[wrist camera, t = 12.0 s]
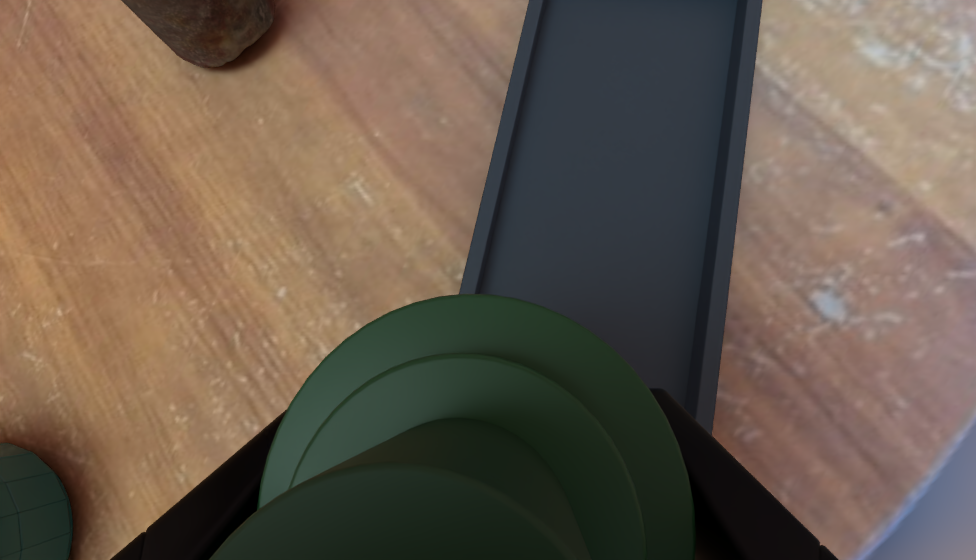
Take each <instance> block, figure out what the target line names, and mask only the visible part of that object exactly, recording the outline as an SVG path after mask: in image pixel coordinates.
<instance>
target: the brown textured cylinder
mask: <svg viewBox="0 0 976 560" xmlns="http://www.w3.org/2000/svg"><path fill="white" fill-rule="evenodd" d="M121 1H122V2H123V3H125V4H126V5H127V6H128V7H129V8H130V9H131V10H132V11H133V12H134V13H135V14H136V15H137V16H138V17H139V18H140V19H141V20H142V21H143V22H144V23H145V24H146V25H147V26H148V27H149V28H150V29H151V30H152V31H153V32H154V33H155V34H156V35H157V36H158V37H159V38H160V39H161V40H162V41H163V42H164V43H165V44H166V45H168V46H169V47H170V48H171V49H172V50H173V51H174V52H175V53H176V54H177V55H178V56H179V57H180V58H182V59H183V60H185V61H188V62H190V63H192V64H194V65H197V66H200V67H203V68H209V67H218V66H222V65H224V64H225V63H226V62H229V61H233V60H234V59H235V58H237V57H238V56H239V55H240V54H241V52H242V51H243V50H244V49H245V48H246V47H248V46H249V45H252V44H253V43H254V42H255V41H256V40H258V39H259V38H260V37H261V36H262V35H263V34H264V33H266V31H267V30H268V29H269V27H270V26H271V24H272V23H273V20H274V12H275V2H274V0H121Z"/></svg>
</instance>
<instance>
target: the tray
mask: <svg viewBox="0 0 976 560" xmlns="http://www.w3.org/2000/svg"><path fill="white" fill-rule="evenodd" d="M761 8H762V0H529V4H528V8H527V12H526V16H525V20H524V25H523V29H522V33H521V37H520V41H519V45H518V50H517V54H516V58H515V62H514V66H513V71H512V75H511V79H510V83H509V87H508V91H507V96H506V100H505V104H504V108H503V112H502V116H501V121H500V125H499V129H498V133H497V137H496V142H495V146H494V150H493V154H492V158H491V162H490V167H489V171H488V175H487V179H486V183H485V187H484V192H483V196H482V200H481V204H480V208H479V213H478V217H477V221H476V225H475V229H474V233H473V238H472V242H471V246H470V250H469V254H468V259H467V263H466V267H465V271H464V275H463V279H462V284H461V288H460V292H459V294H491V295H498V296H505V297H511V298H517V299H520V300H524V301H527V302H531V303H534V304H538V305H541V306H544V307H546V308H548V309H551V310H553V311H555V312H558V313H560V314H562V315H565V316H567V317H568V318H570V319H572V320H573V321H575V322H577V323H579V324H580V325H582V326H584V327H585V328H587V329H589V330H590V331H591V332H593V333H594V334H595V335H597V336H598V337H599V338H601V339H602V340H603V341H604V342H606V343H607V344H608V345H610V346H611V347H612V348H613V349H614V350H615V351H616V352H617V353H618V354H619V355H620V356H621V357H622V358H623V359H624V360H625V361H626V362H627V363H628V364H629V365H630V366H631V367H632V368H633V369H634V370H635V372H636V373H637V374H638V376H639V377H640V378H641V379H642V381H643V382H644V383H645V384H646V386H647V387H648V388H662V389H664V390H665V391H667V392H668V393H669V394H670V395H671V396H672V397H673V398H674V399H675V400H676V401H677V402H678V403H679V404H680V405H681V406H682V407H683V408H684V409H685V410H686V411H687V412H688V413H689V414H690V415H691V416H692V417H693V418H694V419H695V420H696V421H697V422H698V423H699V424H700V425H701V426H702V427H703V428H704V429H705V430H706V431H707V432H708V433H709V434H710V435H711V436H712V429H713V420H714V412H715V403H716V394H717V386H718V377H719V369H720V360H721V351H722V343H723V334H724V326H725V317H726V309H727V300H728V291H729V283H730V274H731V266H732V257H733V249H734V240H735V231H736V223H737V214H738V206H739V197H740V189H741V180H742V171H743V163H744V154H745V146H746V137H747V129H748V120H749V111H750V103H751V94H752V86H753V77H754V68H755V60H756V51H757V43H758V34H759V26H760V17H761Z"/></svg>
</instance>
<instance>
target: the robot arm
mask: <svg viewBox="0 0 976 560" xmlns="http://www.w3.org/2000/svg"><path fill="white" fill-rule="evenodd" d="M649 390H650V391H651V393H652V394H653V396H654V397H655V399H656V401H657V402H658V404H659V406H660V407H661V409H662V411H663V412H664V414H665V416H666V418H667V420H668V422H669V424H670V426H671V429H672V431H673V433H674V435H675V437H676V440H677V442H678V444H679V447H680V450H681V453H682V457H683V460H684V463H685V466H686V469H687V472H688V476H689V482H690V487H691V492H692V498H693V503H694V512H695V528H696V551H695V560H838V559H837V558H836V557H835V556H834V555H833V554H832V553H831V552H830V551H829V550H828V549H827V548H826V547H825V546H823V545H820V542H819V540H818V539H817V538H816V537H815V536H814V535H813V534H812V533H811V532H810V531H809V530H808V529H807V528H805V527H804V526H803V525H802V524H801V523H800V522H799V521H798V520H797V519H796V518H795V517H794V516H793V515H792V514H791V513H790V512H789V511H788V510H787V509H786V508H785V507H784V506H783V505H782V504H781V503H780V502H779V501H778V500H777V499H776V498H775V497H774V496H773V495H772V494H771V493H770V492H769V491H768V490H767V489H766V488H765V487H764V486H763V485H762V484H761V483H760V482H758V481H757V480H756V479H755V478H754V477H753V476H752V475H751V474H750V473H749V472H748V471H747V470H746V469H745V468H744V467H743V466H742V465H741V464H740V463H739V462H738V461H737V460H736V459H735V458H734V457H733V456H732V455H731V454H730V453H729V452H728V451H727V450H726V449H725V448H724V447H723V446H722V445H721V444H720V443H719V442H718V441H717V440H716V439H715V438H714V437H713V436H711V435H710V434H709V433H708V432H707V431H706V430H705V429H704V428H703V427H702V426H701V425H700V424H699V423H698V422H697V421H696V420H695V419H694V418H693V417H692V416H691V415H690V414H689V413H688V412H687V411H686V410H685V409H684V408H683V407H682V406H681V405H680V404H679V403H678V402H677V401H676V400H675V399H674V398H673V397H672V396H671V395H670V394H669V393H668V392H667V391H665V390H664V389H662V388H649ZM286 411H287V410H285V411H284V412H283V413H282V414H281V415H280V416H278V417H277V418H276V419H275V420H274V421H272V422H271V423H270V424H269V425H268V426H267V427H265V428H264V429H263V430H262V431H261V432H260V433H258V434H257V435H256V436H255V437H254V438H253V439H251V440H250V441H249V442H248V443H247V444H246V445H244V446H243V447H242V448H241V449H240V450H238V451H237V452H236V453H235V454H234V455H233V456H231V457H230V458H229V459H228V460H227V461H226V462H224V463H223V464H222V465H221V466H220V467H219V468H217V469H216V470H215V471H214V472H213V473H211V474H210V475H209V476H208V477H207V478H206V479H204V480H203V481H202V482H201V483H200V484H199V485H197V486H196V487H195V488H194V489H193V490H192V491H190V492H189V493H188V494H187V495H186V496H185V497H183V498H182V499H181V500H180V501H179V502H177V503H176V504H175V505H174V506H173V507H172V508H170V509H169V510H168V511H167V512H166V513H165V514H163V515H162V516H161V517H160V518H159V519H158V520H156V521H155V522H154V523H153V524H152V525H150V526H149V527H148V528H147V530H146V532H142V533H141V534H140V535H139V536H137V537H136V538H135V539H134V540H133V541H132V542H130V543H129V544H128V545H127V546H126V547H124V548H123V549H122V550H121V551H120V552H119V553H117V554H116V555H115V556H114V557H112V558H111V559H110V560H209V559H210V558H211V557H212V556H213V554H214V553H215V552H216V551H217V550H218V549H219V547H220V546H221V545H222V544H223V543H224V541H225V540H226V539H227V538H228V537H229V536H230V535H231V534H232V533H233V532H234V531H235V530H236V529H237V528H238V527H239V526H240V525H241V524H242V523H244V522H245V521H246V520H247V519H248V518H249V517H250V516H251V515H252V514H253V513H255V512H256V511H257V505H258V498H259V491H260V483H261V479H262V475H263V472H264V468H265V464H266V460H267V456H268V453H269V450H270V448H271V445H272V442H273V440H274V437H275V434H276V432H277V429H278V427H279V425H280V423H281V421H282V419H283V417H284V415H285V413H286Z"/></svg>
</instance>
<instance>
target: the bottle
mask: <svg viewBox="0 0 976 560" xmlns="http://www.w3.org/2000/svg"><path fill="white" fill-rule="evenodd" d="M695 551H696V528H695V512H694V503H693V498H692V492H691V487H690V482H689V476H688V472H687V469H686V466H685V463H684V460H683V457H682V453H681V450H680V447H679V444H678V442H677V440H676V437H675V435H674V433H673V431H672V429H671V426H670V424H669V422H668V420H667V418H666V416H665V414H664V412H663V411H662V409H661V407H660V406H659V404H658V402H657V401H656V399H655V397H654V396H653V394H652V393H651V391H650V390H649V388H648V387H647V386H646V384H645V383H644V382H643V381H642V379H641V378H640V377H639V376H638V374H637V373H636V372H635V370H634V369H633V368H632V367H631V366H630V365H629V364H628V363H627V362H626V361H625V360H624V359H623V358H622V357H621V356H620V355H619V354H618V353H617V352H616V351H615V350H614V349H613V348H612V347H611V346H610V345H608V344H607V343H606V342H604V341H603V340H602V339H601V338H599V337H598V336H597V335H595V334H594V333H593V332H591V331H590V330H589V329H587V328H585V327H584V326H582V325H580V324H579V323H577V322H575V321H573V320H572V319H570V318H568V317H567V316H565V315H562V314H560V313H558V312H555V311H553V310H551V309H548V308H546V307H544V306H541V305H538V304H534V303H531V302H527V301H524V300H520V299H517V298H511V297H505V296H498V295H491V294H458V295H449V296H440V297H435V298H431V299H427V300H423V301H419V302H415V303H412V304H409V305H406V306H404V307H401V308H399V309H396V310H393V311H391V312H389V313H387V314H385V315H383V316H381V317H379V318H377V319H376V320H374V321H372V322H370V323H368V324H366V325H365V326H364V327H362V328H361V329H359V330H358V331H356V332H355V333H354V334H352V335H351V336H349V337H348V338H347V339H345V340H344V341H343V342H342V343H341V344H340V345H339V346H337V347H336V348H335V349H334V350H333V351H332V352H331V353H330V354H329V355H328V356H326V357H325V358H324V360H323V361H322V362H321V363H320V364H319V365H318V367H317V368H316V369H315V370H314V371H313V372H312V374H311V375H310V376H309V377H308V378H307V380H306V381H305V383H304V384H303V386H302V387H301V388H300V390H299V391H298V393H297V394H296V396H295V397H294V399H293V400H292V402H291V404H290V406H289V407H288V409H287V411H286V413H285V415H284V417H283V419H282V421H281V423H280V425H279V427H278V429H277V432H276V434H275V437H274V440H273V442H272V445H271V448H270V450H269V453H268V456H267V460H266V464H265V468H264V472H263V475H262V479H261V483H260V491H259V498H258V505H257V511H256V512H255V513H253V514H252V515H251V516H250V517H249V518H248V519H247V520H246V521H245V522H244V523H242V524H241V525H240V526H239V527H238V528H237V529H236V530H235V531H234V532H233V533H232V534H231V535H230V536H229V537H228V538H227V539H226V540H225V541H224V543H223V544H222V545H221V546H220V547H219V549H218V550H217V551H216V552H215V553H214V554H213V556H212V557H211V558H210V559H209V560H695Z"/></svg>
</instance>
